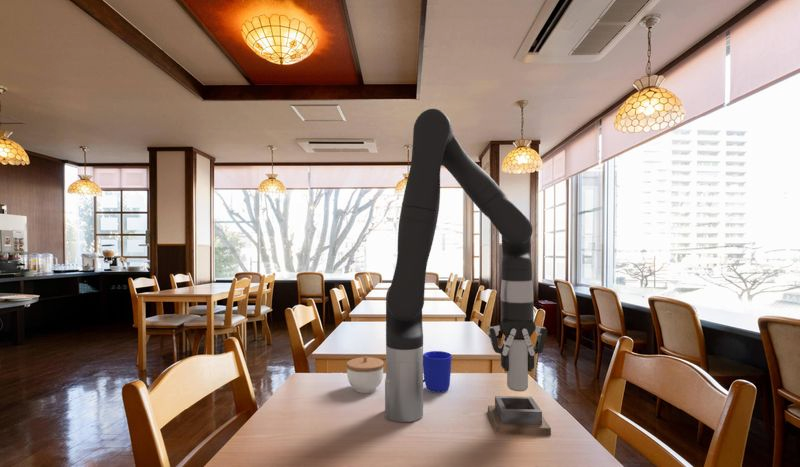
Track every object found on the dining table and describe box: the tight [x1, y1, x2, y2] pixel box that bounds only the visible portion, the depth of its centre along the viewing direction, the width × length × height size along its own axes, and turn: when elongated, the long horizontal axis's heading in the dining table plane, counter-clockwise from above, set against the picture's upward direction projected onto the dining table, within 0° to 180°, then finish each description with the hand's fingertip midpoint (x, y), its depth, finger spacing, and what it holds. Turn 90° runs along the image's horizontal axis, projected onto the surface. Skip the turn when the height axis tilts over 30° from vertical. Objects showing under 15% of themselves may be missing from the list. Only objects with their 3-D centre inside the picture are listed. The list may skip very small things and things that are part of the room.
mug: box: [423, 350, 453, 393], centre depth 122 cm, size 8×12×10 cm
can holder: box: [487, 395, 552, 436], centre depth 100 cm, size 12×12×4 cm
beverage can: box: [506, 340, 529, 393], centre depth 100 cm, size 5×5×12 cm
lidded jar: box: [346, 355, 385, 394], centre depth 122 cm, size 11×11×9 cm
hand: (517, 370), depth 100 cm, fingers closed on beverage can, 5 cm apart
